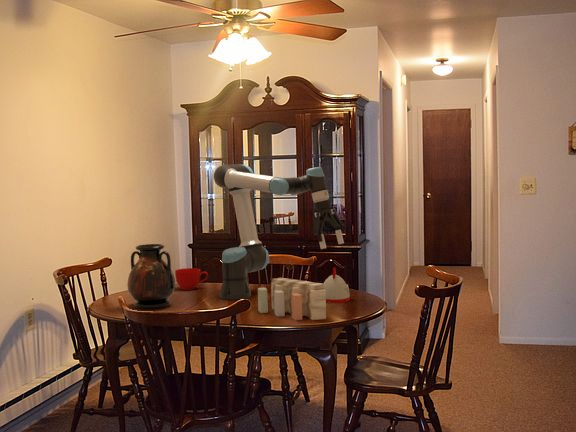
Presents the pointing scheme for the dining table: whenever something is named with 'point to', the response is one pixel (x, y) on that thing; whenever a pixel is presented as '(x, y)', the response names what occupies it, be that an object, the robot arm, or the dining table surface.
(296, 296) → the salmon pink upright block
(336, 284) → the white and red dome
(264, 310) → the sage key
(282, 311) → the grey key
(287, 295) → the cream notched block
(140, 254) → the amphora vase
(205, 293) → the dining table surface
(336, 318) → the dining table surface
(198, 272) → the ceramic cup
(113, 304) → the dining table surface
